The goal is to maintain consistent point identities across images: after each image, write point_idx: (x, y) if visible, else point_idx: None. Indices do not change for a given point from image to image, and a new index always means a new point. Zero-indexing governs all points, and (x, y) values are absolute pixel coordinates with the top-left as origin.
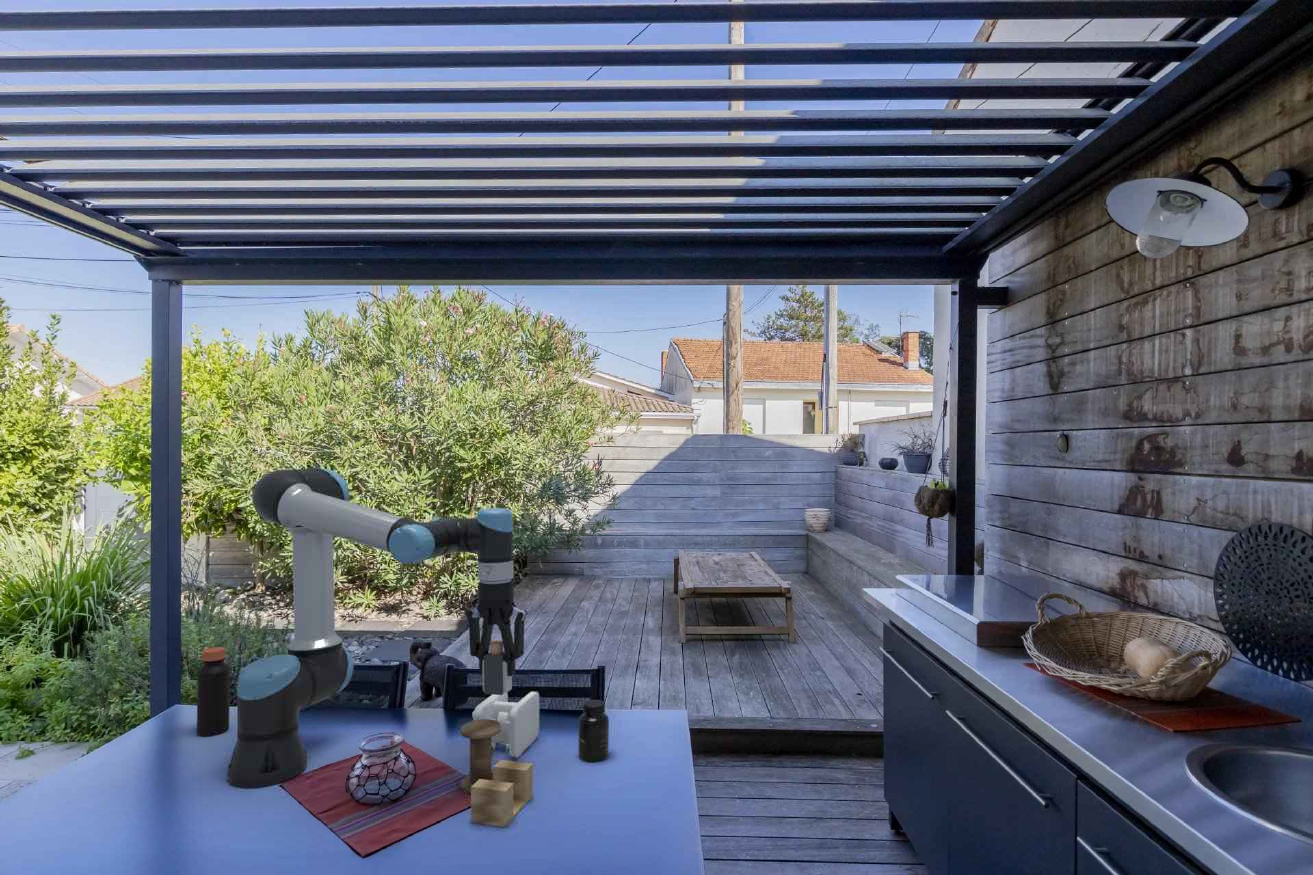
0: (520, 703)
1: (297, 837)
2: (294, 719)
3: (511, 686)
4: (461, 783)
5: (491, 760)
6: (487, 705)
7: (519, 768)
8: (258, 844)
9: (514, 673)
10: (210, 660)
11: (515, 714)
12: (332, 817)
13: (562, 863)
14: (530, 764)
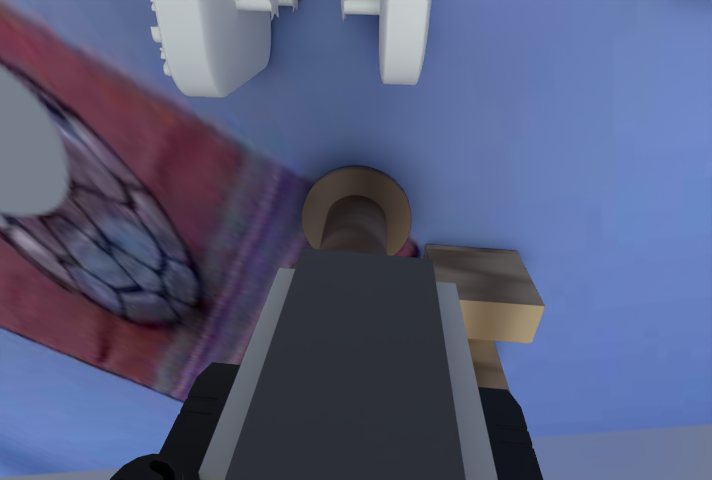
0: None
1: (139, 417)
2: None
3: (456, 298)
4: (314, 246)
5: (386, 244)
6: (207, 8)
7: (509, 335)
8: (102, 434)
9: (511, 400)
10: None
11: (416, 80)
12: (136, 369)
13: (609, 428)
14: (538, 311)
